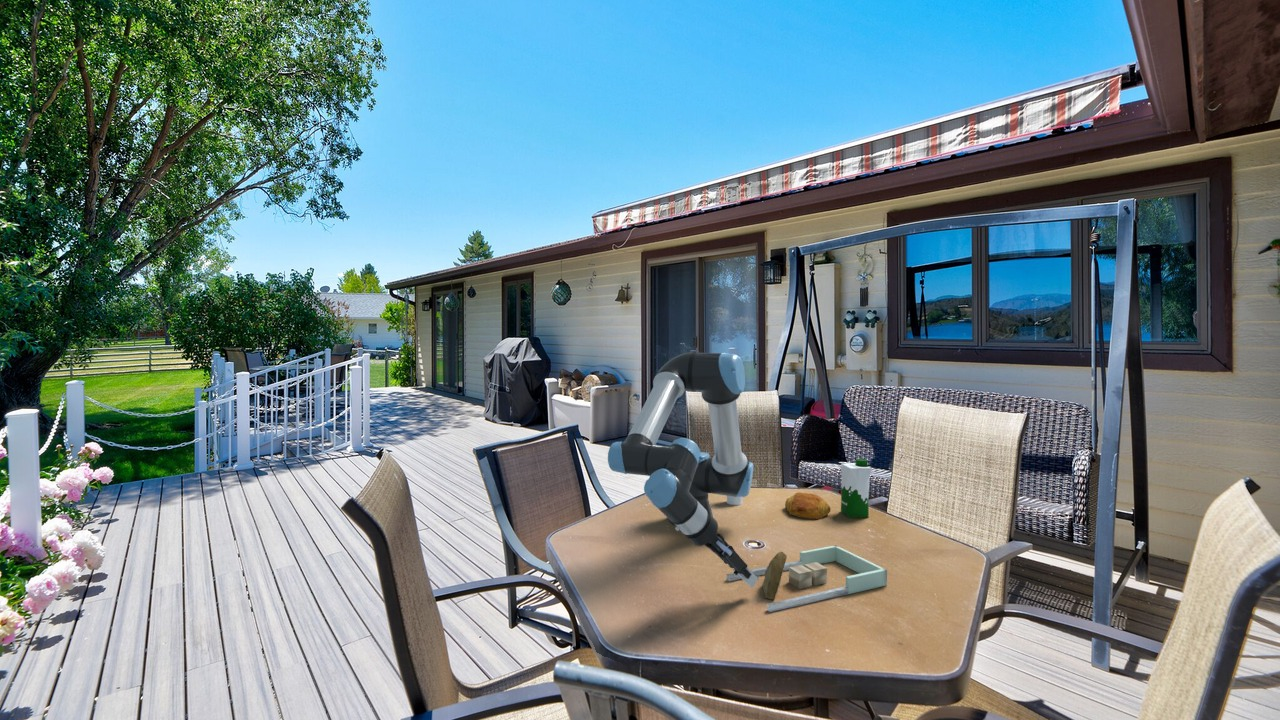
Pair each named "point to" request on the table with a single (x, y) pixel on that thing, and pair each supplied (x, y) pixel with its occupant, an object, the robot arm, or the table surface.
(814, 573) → the beige cube
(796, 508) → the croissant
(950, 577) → the table surface
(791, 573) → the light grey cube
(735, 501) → the drinking glass
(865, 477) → the milk carton
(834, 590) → the slot rails
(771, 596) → the rock
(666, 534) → the table surface
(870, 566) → the tray pen
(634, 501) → the table surface
